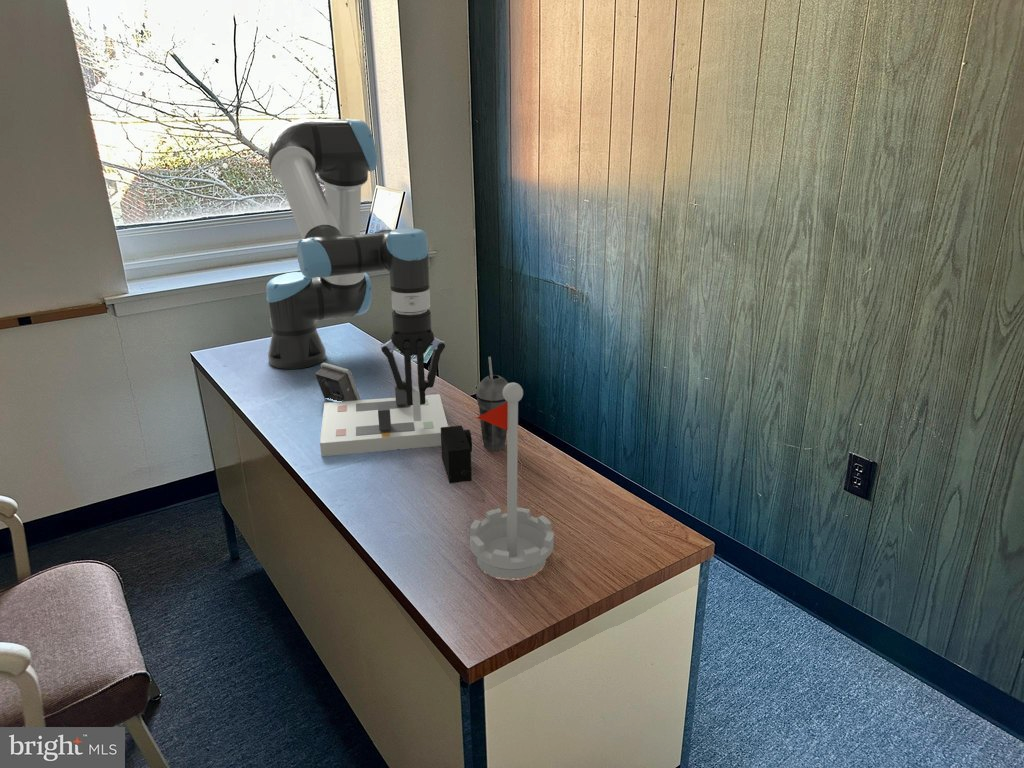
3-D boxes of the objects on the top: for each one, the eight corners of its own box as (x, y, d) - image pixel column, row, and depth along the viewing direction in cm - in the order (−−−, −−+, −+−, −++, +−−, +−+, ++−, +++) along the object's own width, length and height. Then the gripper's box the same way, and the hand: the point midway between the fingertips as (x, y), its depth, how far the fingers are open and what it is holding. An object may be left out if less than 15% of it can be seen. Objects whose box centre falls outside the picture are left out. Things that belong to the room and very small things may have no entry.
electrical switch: (361, 402, 165) (355, 367, 160) (346, 411, 161) (339, 375, 157) (333, 393, 169) (327, 359, 165) (318, 402, 166) (310, 367, 161)
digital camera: (477, 480, 132) (477, 448, 129) (449, 484, 130) (448, 451, 128) (468, 455, 141) (467, 424, 138) (441, 458, 140) (440, 426, 137)
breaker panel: (325, 414, 158) (324, 402, 157) (439, 405, 163) (439, 393, 162) (321, 456, 140) (319, 442, 139) (450, 445, 145) (449, 431, 144)
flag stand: (545, 532, 116) (550, 364, 105) (560, 582, 104) (567, 399, 93) (467, 537, 115) (464, 368, 103) (473, 588, 103) (469, 404, 91)
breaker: (395, 399, 157) (394, 381, 156) (406, 398, 158) (405, 380, 156) (396, 405, 154) (395, 386, 153) (407, 404, 155) (406, 386, 153)
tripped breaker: (378, 423, 146) (377, 404, 144) (390, 422, 146) (389, 403, 144) (379, 430, 143) (377, 410, 141) (391, 429, 143) (389, 409, 142)
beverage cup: (518, 445, 145) (519, 355, 137) (494, 457, 140) (494, 364, 132) (493, 434, 149) (493, 346, 142) (469, 445, 144) (467, 355, 137)
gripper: (378, 317, 132) (386, 428, 141) (446, 313, 134) (450, 423, 143) (377, 306, 138) (384, 413, 147) (442, 302, 141) (445, 408, 150)
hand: (416, 418), depth 145 cm, fingers closed
